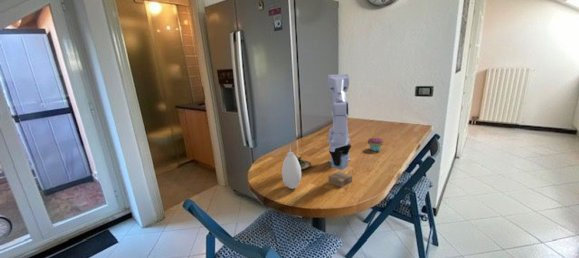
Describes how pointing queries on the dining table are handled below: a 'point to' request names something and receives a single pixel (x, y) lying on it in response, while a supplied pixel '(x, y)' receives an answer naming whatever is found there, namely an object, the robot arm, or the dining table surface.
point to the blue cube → (342, 162)
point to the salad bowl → (302, 162)
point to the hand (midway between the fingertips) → (340, 163)
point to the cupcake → (375, 143)
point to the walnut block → (340, 179)
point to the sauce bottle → (291, 171)
